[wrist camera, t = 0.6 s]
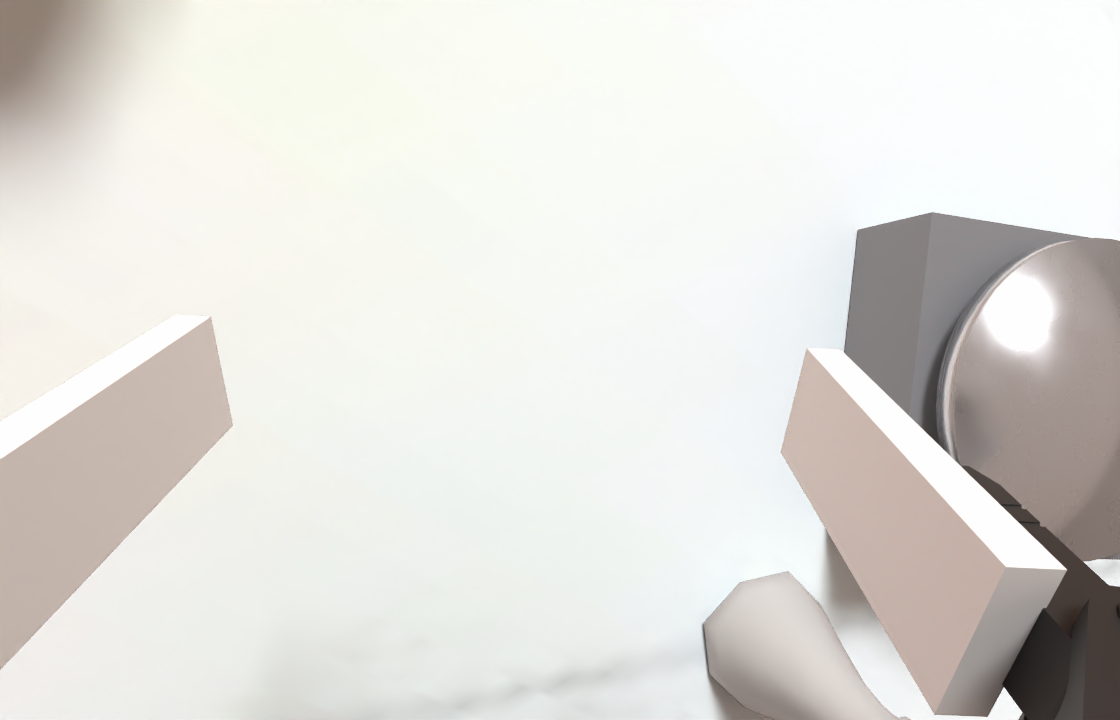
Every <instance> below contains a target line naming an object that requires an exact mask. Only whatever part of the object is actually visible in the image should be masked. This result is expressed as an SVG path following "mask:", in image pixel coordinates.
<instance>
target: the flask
mask: <svg viewBox="0 0 1120 720" xmlns="http://www.w3.org/2000/svg"><path fill="white" fill-rule="evenodd" d="M704 629H705V638H706V647H707V655H708V664H709V673H710V675H711V676H712V677H713V678H714V679H715V680H716V681H717V682H718V683H719V684H720V685H721V686H722V687H724V688H725V689H726V690H727V691H728V692H729V693H730V694H731V695H732V696H733V697H734V698H735V699H736V700H737V701H738V702H739V703H740V704H741V705H742V706H743V707H745V708H747V709H750V710H752V711H754V712H756V713H759V714H761V715H764V716H766V717H769V718H771V719H774V720H911V719H909V718H907V717H901V718H897V717H896V716H894V715H893V714H892V713H891V712H889V711H888V710H887V709H886V708H885V707H884V706H883V705H882V704H881V703H880V702H879V701H878V700H877V698H876V697H875V696H874V695H873V694H872V692H871V691H870V690H869V689H868V688H867V686H866V685H865V683H864V682H863V680H862V678H861V677H860V675H859V673H858V671H857V670H856V668H855V666H854V665H853V663H852V661H851V659H850V658H849V656H848V654H847V653H846V651H845V649H844V648H843V646H842V644H841V642H840V640H839V638H838V636H837V634H836V632H835V630H834V629H833V627H832V625H831V623H830V621H829V619H828V617H827V615H826V614H825V612H824V610H823V608H822V607H821V605H820V604H819V603H818V602H817V601H816V600H815V599H814V598H813V596H812V595H811V594H810V593H809V592H808V591H807V590H806V589H805V588H804V587H803V586H802V585H801V584H800V583H799V582H798V581H797V580H796V579H795V578H794V577H793V576H792V574H791V573H790V572H789V571H787V572H782V573H778V574H774V575H769V576H765V577H761V578H756V579H752V580H748V581H743V582H740V583H739V584H738V585H737V586H736V587H735V588H734V590H733V591H732V592H731V593H730V594H729V595H728V596H727V597H726V598H725V600H724V601H723V602H722V603H721V604H720V605H719V606H718V607H717V608H716V610H715V611H714V612H713V613H712V614H711V615H710V616H709V617H708V618H707V620H706V621H705V622H704Z"/></svg>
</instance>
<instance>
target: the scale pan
mask: <svg viewBox="0 0 1120 720" xmlns="http://www.w3.org/2000/svg"><path fill="white" fill-rule="evenodd" d="M936 416H937V432H938V438H939V443H940V447H941V448H942V449H943V450H944V451H945V452H947V453H948V454H949V455H950V456H951V457H952V458H953V459H954V460H955V461H956V462H957V463H958V464H959V465H960V466H970V467H971V468H973V469H975V470H976V471H978V472H980V473H981V474H983V475H985V476H986V477H988V478H990V479H991V480H993V481H995V482H996V483H998V484H1000V485H1001V486H1002V487H1003V488H1004V489H1005V490H1006V491H1007V492H1008V493H1009V494H1010V495H1011V496H1013V497H1014V498H1015V499H1016V500H1017V501H1018V502H1019V503H1020V504H1021V505H1022V506H1021V507H1022V509H1027V510H1028V511H1029V512H1030V513H1031V514H1032V515H1033V516H1034V517H1035V518H1036V519H1037V520H1038V521H1040V526H1041V527H1046V528H1047V529H1048V530H1049V531H1050V532H1051V533H1052V534H1054V535H1055V536H1056V537H1057V538H1058V539H1059V540H1060V541H1061V542H1062V543H1063V544H1064V545H1065V546H1066V547H1068V548H1069V549H1070V550H1071V551H1072V552H1073V553H1074V554H1075V555H1076V556H1077V557H1078V558H1079V559H1080V560H1082V561H1092V560H1096V559H1101V558H1105V557H1108V556H1111V555H1114V554H1116V553H1119V552H1120V241H1117V240H1113V239H1101V238H1091V239H1079V240H1072V241H1064V242H1057V243H1053V244H1049V245H1045V246H1041V247H1038V248H1035V249H1033V250H1031V251H1028V252H1026V253H1023V254H1021V255H1020V256H1018V257H1016V258H1015V259H1013V260H1012V261H1010V262H1008V263H1007V264H1005V265H1004V266H1003V267H1002V268H1000V269H999V270H998V271H997V272H996V273H994V274H993V275H992V276H991V277H990V278H989V279H988V280H987V281H986V282H985V283H984V284H983V285H982V286H981V287H980V289H979V290H978V291H977V292H976V293H975V295H974V296H973V298H972V299H971V300H970V302H969V303H968V304H967V306H966V307H965V309H964V311H963V313H962V314H961V316H960V318H959V320H958V322H957V323H956V325H955V327H954V330H953V332H952V335H951V337H950V339H949V342H948V344H947V347H946V351H945V354H944V358H943V361H942V365H941V369H940V375H939V381H938V387H937V403H936Z"/></svg>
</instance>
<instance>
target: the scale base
mask: <svg viewBox="0 0 1120 720" xmlns="http://www.w3.org/2000/svg"><path fill="white" fill-rule="evenodd" d="M1079 239H1091V238H1088V237H1082V236H1075V235H1069V234H1063V233H1057V232H1051V231H1044V230H1038V229H1032V228H1026V227H1020V226H1013V225H1007V224H1001V223H995V222H989V221H982V220H976V219H970V218H964V217H958V216H952V215H945V214H939V213H933V212H932V213H928V214H923V215H919V216H915V217H911V218H906V219H902V220H898V221H894V222H889V223H885V224H881V225H877V226H872V227H868V228H864V229H860V230H858V235H857V244H856V253H855V262H854V271H853V280H852V289H851V298H850V307H849V316H848V325H847V334H846V343H845V352H844V353H845V354H846V355H847V356H848V357H849V358H850V359H851V360H852V361H853V362H854V363H855V364H856V365H857V366H858V367H859V368H860V369H861V370H862V371H863V372H864V373H865V374H866V375H867V376H868V377H869V378H870V379H871V380H872V381H873V382H874V383H876V384H877V385H878V386H879V387H880V388H881V389H882V390H883V391H884V392H885V393H886V394H887V395H888V396H889V397H890V398H891V399H892V400H893V401H894V402H895V403H896V404H897V405H898V406H899V407H900V408H901V409H902V410H903V411H904V412H905V413H906V414H907V415H908V416H909V417H910V418H912V419H913V420H914V421H915V422H916V423H917V424H918V425H919V426H920V427H921V428H922V429H923V430H924V431H925V432H926V433H927V434H928V435H929V436H930V437H931V438H932V439H933V440H934V441H935V442H936V443H937V444H938V445H939V446H940V443H939V438H938V432H937V416H936V403H937V387H938V381H939V375H940V369H941V365H942V361H943V358H944V354H945V351H946V347H947V344H948V342H949V339H950V337H951V335H952V332H953V330H954V327H955V325H956V323H957V322H958V320H959V318H960V316H961V314H962V313H963V311H964V309H965V307H966V306H967V304H968V303H969V302H970V300H971V299H972V298H973V296H974V295H975V293H976V292H977V291H978V290H979V289H980V287H981V286H982V285H983V284H984V283H985V282H986V281H987V280H988V279H989V278H990V277H991V276H992V275H993V274H994V273H996V272H997V271H998V270H999V269H1000V268H1002V267H1003V266H1004V265H1005V264H1007V263H1008V262H1010V261H1012V260H1013V259H1015V258H1016V257H1018V256H1020V255H1021V254H1023V253H1026V252H1028V251H1031V250H1033V249H1035V248H1038V247H1041V246H1045V245H1049V244H1053V243H1057V242H1064V241H1072V240H1079ZM1101 559H1120V552H1119V553H1116V554H1114V555H1111V556H1108V557H1105V558H1101Z"/></svg>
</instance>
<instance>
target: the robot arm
mask: <svg viewBox="0 0 1120 720" xmlns="http://www.w3.org/2000/svg"><path fill="white" fill-rule="evenodd" d="M232 426H233V424H232V419H231V414H230V409H229V404H228V399H227V394H226V389H225V384H224V379H223V375H222V370H221V365H220V360H219V355H218V350H217V345H216V340H215V335H214V330H213V325H212V320H211V317H207V316H188V315H174V316H173V317H171V318H169V319H168V320H166V321H164V322H163V323H161V324H159V325H158V326H156V327H155V328H153V329H151V330H150V331H148V332H146V333H145V334H143V335H141V336H140V337H138V338H136V339H135V340H133V341H132V342H130V343H128V344H127V345H125V346H123V347H122V348H120V349H118V350H117V351H115V352H114V353H112V354H110V355H109V356H107V357H105V358H104V359H102V360H100V361H99V362H97V363H95V364H94V365H92V366H91V367H89V368H87V369H86V370H84V371H82V372H81V373H79V374H77V375H76V376H74V377H73V378H71V379H69V380H68V381H66V382H64V383H63V384H61V385H59V386H58V387H56V388H54V389H53V390H51V391H50V392H48V393H46V394H45V395H43V396H41V397H40V398H38V399H36V400H35V401H33V402H32V403H30V404H28V405H27V406H25V407H23V408H22V409H20V410H18V411H17V412H15V413H14V414H12V415H10V416H9V417H7V418H5V419H4V420H2V421H0V670H1V669H2V668H3V667H4V665H5V664H6V663H7V662H8V661H9V660H10V659H11V658H12V657H13V656H14V655H15V654H16V653H17V652H18V651H19V650H20V649H21V648H22V647H23V646H24V644H25V643H26V642H27V641H28V640H29V639H30V638H31V637H32V636H33V635H34V634H35V633H36V632H37V631H38V630H39V629H40V628H41V627H42V626H43V624H44V623H45V622H46V621H47V620H48V619H49V618H50V617H51V616H52V615H53V614H54V613H55V612H56V611H57V610H58V609H59V608H60V607H61V606H62V604H63V603H64V602H65V601H66V600H67V599H68V598H69V597H70V596H71V595H72V594H73V593H74V592H75V591H76V590H77V589H78V588H79V587H80V586H81V584H82V583H83V582H84V581H85V580H86V579H87V578H88V577H89V576H90V575H91V574H92V573H93V572H94V571H95V570H96V569H97V568H98V567H99V566H100V565H101V563H102V562H103V561H104V560H105V559H106V558H107V557H108V556H109V555H110V554H111V553H112V552H113V551H114V550H115V549H116V548H117V547H118V546H119V545H120V543H121V542H122V541H123V540H124V539H125V538H126V537H127V536H128V535H129V534H130V533H131V532H132V531H133V530H134V529H135V528H136V527H137V526H138V525H139V523H140V522H141V521H142V520H143V519H144V518H145V517H146V516H147V515H148V514H149V513H150V512H151V511H152V510H153V509H154V508H155V507H156V506H157V505H158V503H159V502H160V501H161V500H162V499H163V498H164V497H165V496H166V495H167V494H168V493H169V492H170V491H171V490H172V489H173V488H174V487H175V486H176V485H177V483H178V482H179V481H180V480H181V479H182V478H183V477H184V476H185V475H186V474H187V473H188V472H189V471H190V470H191V469H192V468H193V467H194V466H195V465H196V464H197V462H198V461H199V460H200V459H201V458H202V457H203V456H204V455H205V454H206V453H207V452H208V451H209V450H210V449H211V448H212V447H213V446H214V445H215V444H216V442H217V441H218V440H219V439H220V438H221V437H222V436H223V435H224V434H225V433H226V432H227V431H228V430H229V429H230V428H231V427H232ZM781 453H782V455H783V457H784V459H785V460H786V462H787V464H788V465H789V467H790V469H791V470H792V472H793V474H794V476H795V477H796V479H797V481H798V482H799V484H800V486H801V488H802V489H803V491H804V493H805V494H806V496H807V498H808V499H809V501H810V503H811V505H812V506H813V508H814V510H815V511H816V513H817V515H818V517H819V518H820V520H821V522H822V523H823V525H824V527H825V528H826V530H827V532H828V534H829V535H830V537H831V539H832V540H833V542H834V544H835V546H836V547H837V549H838V551H839V552H840V554H841V556H842V558H843V559H844V561H845V563H846V564H847V566H848V568H849V569H850V571H851V573H852V575H853V576H854V578H855V580H856V581H857V583H858V585H859V587H860V588H861V590H862V592H863V593H864V595H865V597H866V598H867V600H868V602H869V604H870V605H871V607H872V609H873V610H874V612H875V614H876V616H877V617H878V619H879V621H880V622H881V624H882V626H883V627H884V629H885V631H886V633H887V634H888V636H889V638H890V639H891V641H892V643H893V645H894V646H895V648H896V650H897V651H898V653H899V655H900V657H901V658H902V660H903V662H904V663H905V665H906V667H907V668H908V670H909V672H910V674H911V675H912V677H913V679H914V680H915V682H916V684H917V686H918V687H919V689H920V691H921V692H922V694H923V696H924V697H925V699H926V701H927V703H928V704H929V706H930V708H931V709H932V711H933V713H934V715H958V716H983V717H988V715H989V713H990V711H991V709H992V708H993V706H994V704H995V702H996V700H997V698H998V697H999V695H1000V693H1001V691H1002V689H1003V687H1005V689H1006V690H1007V691H1008V693H1009V694H1010V696H1011V697H1012V698H1013V700H1014V701H1015V702H1016V704H1017V705H1018V707H1019V708H1020V709H1021V711H1022V712H1023V713H1022V715H1021V716H1020V718H1019V720H1120V587H1117V586H1109V585H1107V584H1106V583H1105V582H1104V581H1103V580H1102V579H1101V578H1100V577H1099V576H1098V575H1097V574H1096V573H1095V572H1093V571H1092V570H1091V569H1090V568H1089V567H1088V566H1087V565H1086V564H1085V563H1084V562H1083V561H1082V560H1080V559H1079V558H1078V557H1077V556H1076V555H1075V554H1074V553H1073V552H1072V551H1071V550H1070V549H1069V548H1068V547H1066V546H1065V545H1064V544H1063V543H1062V542H1061V541H1060V540H1059V539H1058V538H1057V537H1056V536H1055V535H1054V534H1052V533H1051V532H1050V531H1049V530H1048V529H1047V528H1046V527H1041V526H1040V521H1038V520H1037V519H1036V518H1035V517H1034V516H1033V515H1032V514H1031V513H1030V512H1029V511H1028V510H1027V509H1022V507H1021V506H1022V505H1021V504H1020V503H1019V502H1018V501H1017V500H1016V499H1015V498H1014V497H1013V496H1011V495H1010V494H1009V493H1008V492H1007V491H1006V490H1005V489H1004V488H1003V487H1002V486H1001V485H1000V484H998V483H996V482H995V481H993V480H991V479H990V478H988V477H986V476H985V475H983V474H981V473H980V472H978V471H976V470H975V469H973V468H971V467H970V466H960V465H959V464H958V463H957V462H956V461H955V460H954V459H953V458H952V457H951V456H950V455H949V454H948V453H947V452H945V451H944V450H943V449H942V448H941V447H940V446H939V445H938V444H937V443H936V442H935V441H934V440H933V439H932V438H931V437H930V436H929V435H928V434H927V433H926V432H925V431H924V430H923V429H922V428H921V427H920V426H919V425H918V424H917V423H916V422H915V421H914V420H913V419H912V418H910V417H909V416H908V415H907V414H906V413H905V412H904V411H903V410H902V409H901V408H900V407H899V406H898V405H897V404H896V403H895V402H894V401H893V400H892V399H891V398H890V397H889V396H888V395H887V394H886V393H885V392H884V391H883V390H882V389H881V388H880V387H879V386H878V385H877V384H876V383H874V382H873V381H872V380H871V379H870V378H869V377H868V376H867V375H866V374H865V373H864V372H863V371H862V370H861V369H860V368H859V367H858V366H857V365H856V364H855V363H854V362H853V361H852V360H851V359H850V358H849V357H848V356H847V355H846V354H845V353H844V352H843V351H842V350H835V349H816V348H807V349H806V353H805V357H804V361H803V365H802V369H801V373H800V377H799V381H798V385H797V389H796V393H795V397H794V401H793V405H792V409H791V413H790V417H789V421H788V425H787V429H786V433H785V437H784V441H783V445H782V449H781Z"/></svg>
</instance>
